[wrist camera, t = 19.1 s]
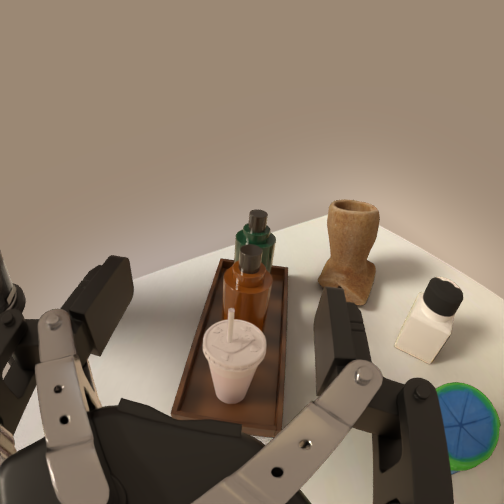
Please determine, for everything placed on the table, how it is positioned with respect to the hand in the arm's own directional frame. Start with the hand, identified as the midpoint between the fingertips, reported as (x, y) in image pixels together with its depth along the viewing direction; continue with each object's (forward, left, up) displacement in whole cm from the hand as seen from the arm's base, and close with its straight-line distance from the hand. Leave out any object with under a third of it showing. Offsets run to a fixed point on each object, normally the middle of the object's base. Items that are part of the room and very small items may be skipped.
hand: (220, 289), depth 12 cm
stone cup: (-6, +41, -26) cm, 49 cm away
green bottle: (-16, +26, -25) cm, 40 cm away
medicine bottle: (+12, +34, -26) cm, 45 cm away
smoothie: (-6, +9, -25) cm, 28 cm away
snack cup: (+19, +14, -26) cm, 35 cm away
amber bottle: (-11, +18, -25) cm, 33 cm away
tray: (-11, +18, -26) cm, 33 cm away
